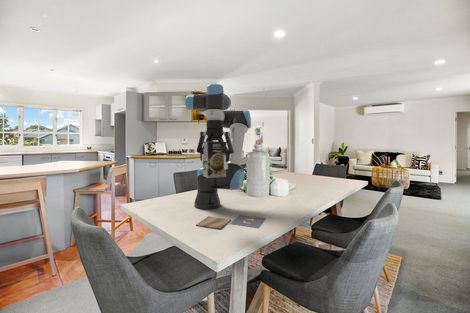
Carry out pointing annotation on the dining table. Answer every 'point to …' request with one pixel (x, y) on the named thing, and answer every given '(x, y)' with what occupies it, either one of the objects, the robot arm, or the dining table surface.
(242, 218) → the mat
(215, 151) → the coffee box
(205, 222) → the walnut board
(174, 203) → the dining table surface
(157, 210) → the dining table surface
